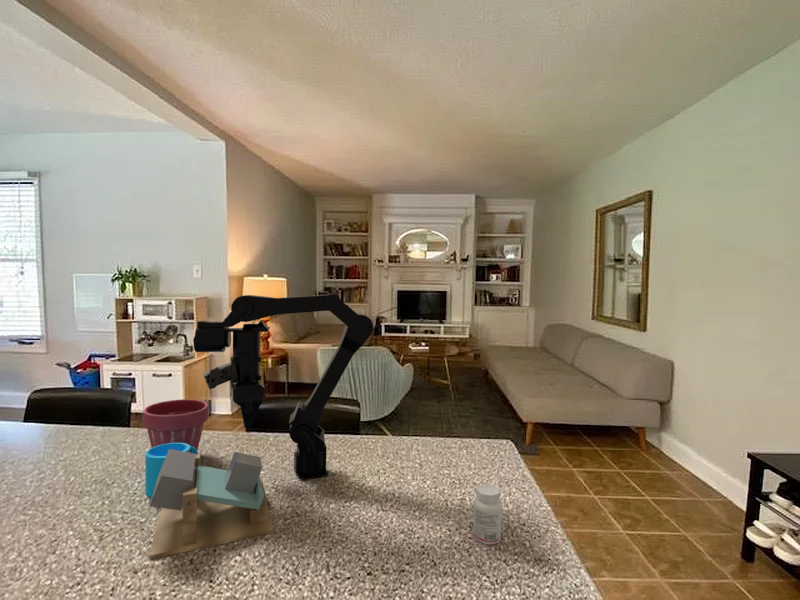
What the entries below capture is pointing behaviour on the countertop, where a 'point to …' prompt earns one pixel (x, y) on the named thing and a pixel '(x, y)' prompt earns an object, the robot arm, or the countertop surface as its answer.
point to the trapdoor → (198, 484)
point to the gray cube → (243, 473)
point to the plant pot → (175, 422)
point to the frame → (206, 523)
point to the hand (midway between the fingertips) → (246, 421)
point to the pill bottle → (487, 514)
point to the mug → (160, 462)
